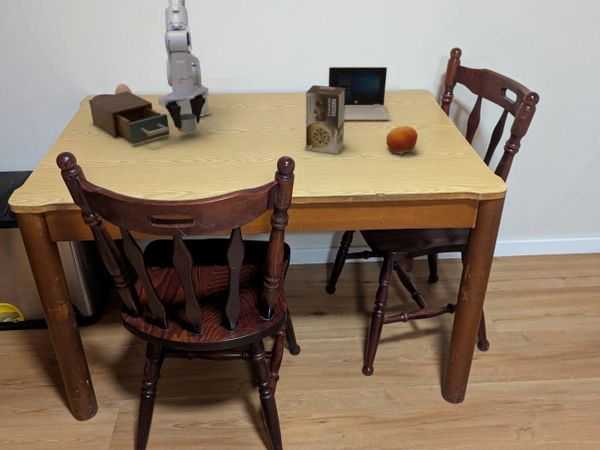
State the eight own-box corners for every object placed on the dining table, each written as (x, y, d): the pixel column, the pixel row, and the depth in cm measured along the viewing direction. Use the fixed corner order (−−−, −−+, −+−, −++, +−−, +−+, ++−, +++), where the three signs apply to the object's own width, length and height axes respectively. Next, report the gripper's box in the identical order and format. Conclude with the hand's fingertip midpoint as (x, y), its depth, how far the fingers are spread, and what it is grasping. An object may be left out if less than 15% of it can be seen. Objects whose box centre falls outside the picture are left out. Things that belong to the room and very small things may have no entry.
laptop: (330, 121, 169) (331, 78, 162) (327, 107, 179) (328, 66, 173) (389, 121, 169) (393, 78, 162) (383, 107, 180) (387, 66, 173)
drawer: (178, 139, 154) (176, 119, 151) (142, 150, 148) (139, 129, 145) (146, 121, 166) (143, 102, 163) (110, 130, 159) (107, 111, 156)
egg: (113, 105, 180) (109, 84, 177) (125, 101, 184) (122, 80, 180) (124, 108, 178) (121, 87, 174) (136, 103, 182) (133, 83, 178)
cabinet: (155, 127, 164) (151, 102, 160) (115, 138, 157) (111, 112, 153) (131, 114, 173) (128, 91, 169) (93, 124, 166) (88, 99, 162)
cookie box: (343, 145, 153) (346, 87, 145) (337, 154, 148) (340, 95, 139) (312, 141, 155) (313, 84, 147) (304, 150, 150) (305, 91, 142)
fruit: (402, 156, 143) (395, 126, 143) (385, 161, 150) (379, 132, 150) (427, 150, 146) (420, 120, 146) (410, 155, 154) (403, 127, 153)
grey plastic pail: (190, 124, 160) (189, 112, 158) (201, 130, 157) (199, 117, 155) (174, 129, 157) (172, 116, 155) (184, 134, 154) (183, 121, 152)
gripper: (165, 85, 142) (171, 135, 149) (213, 74, 151) (216, 122, 158) (151, 79, 147) (158, 128, 154) (198, 69, 155) (202, 116, 162)
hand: (187, 125), depth 156 cm, fingers closed on grey plastic pail, 5 cm apart
